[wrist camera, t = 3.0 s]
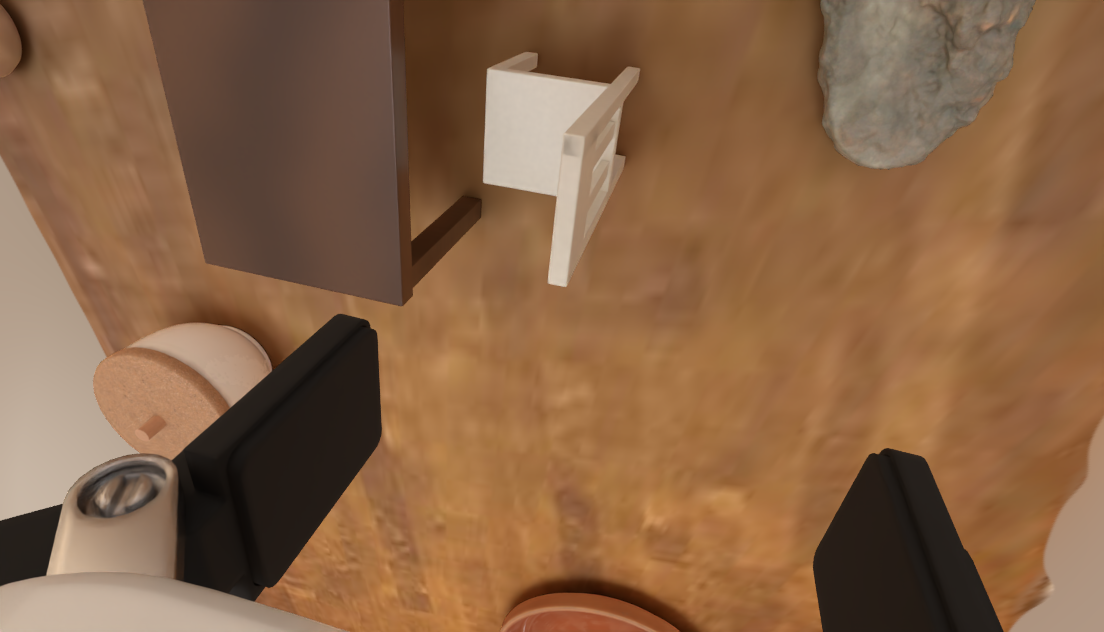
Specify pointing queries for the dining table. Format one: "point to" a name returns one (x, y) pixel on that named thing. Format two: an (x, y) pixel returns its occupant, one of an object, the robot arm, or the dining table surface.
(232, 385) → the lidded bowl
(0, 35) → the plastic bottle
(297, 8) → the toy table
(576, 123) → the chair
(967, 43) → the long grey stone
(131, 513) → the robot arm
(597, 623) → the saucer
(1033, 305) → the dining table surface
